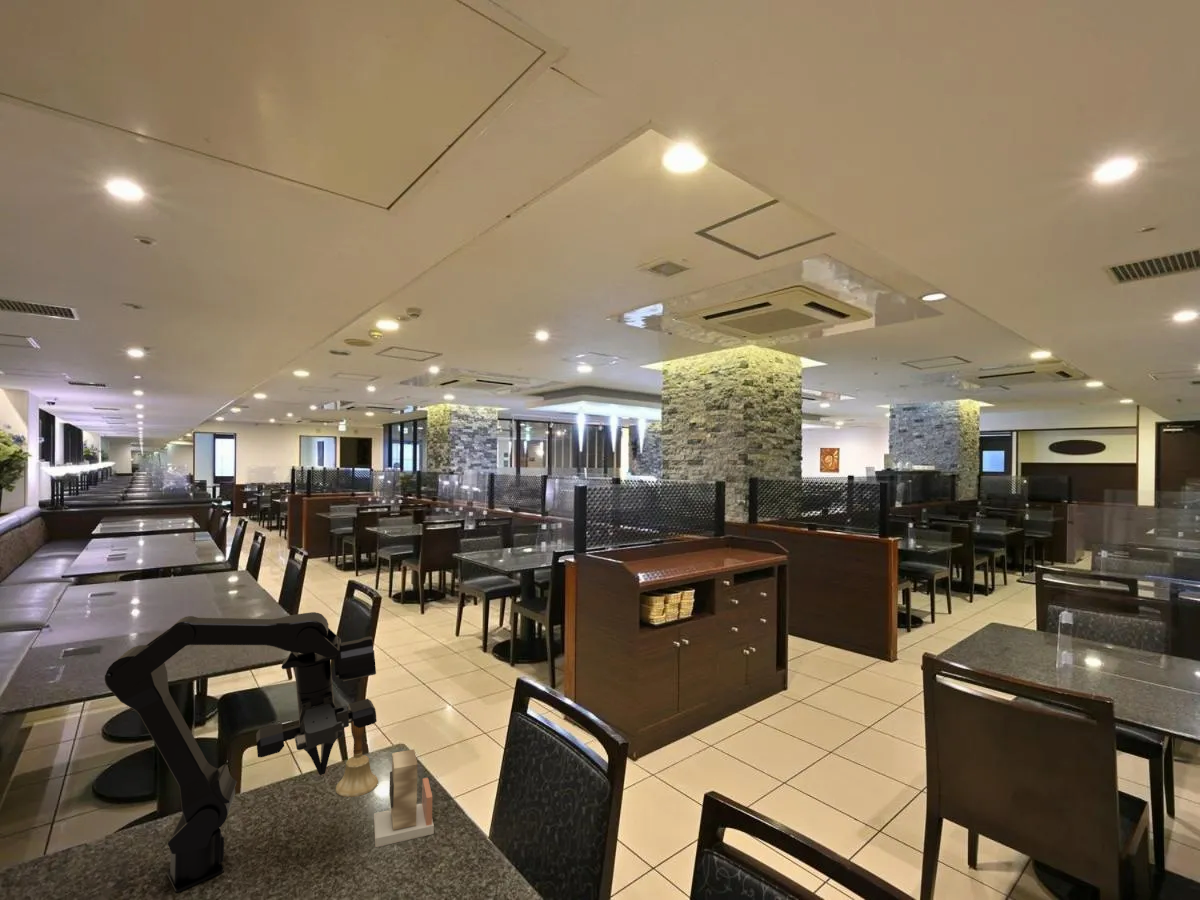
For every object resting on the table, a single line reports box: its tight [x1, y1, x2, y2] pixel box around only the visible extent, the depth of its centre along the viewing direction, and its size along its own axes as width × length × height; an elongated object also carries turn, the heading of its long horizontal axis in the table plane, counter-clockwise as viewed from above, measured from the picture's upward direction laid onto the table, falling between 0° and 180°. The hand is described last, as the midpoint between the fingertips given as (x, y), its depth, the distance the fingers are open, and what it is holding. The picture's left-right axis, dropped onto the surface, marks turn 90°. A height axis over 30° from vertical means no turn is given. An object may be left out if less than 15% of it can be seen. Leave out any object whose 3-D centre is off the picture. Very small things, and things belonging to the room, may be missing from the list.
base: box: [373, 777, 435, 848], centre depth 108 cm, size 10×8×6 cm
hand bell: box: [335, 721, 379, 798], centre depth 122 cm, size 8×8×16 cm
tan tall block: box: [388, 748, 418, 830], centre depth 108 cm, size 4×6×11 cm
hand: (322, 773), depth 103 cm, fingers closed
